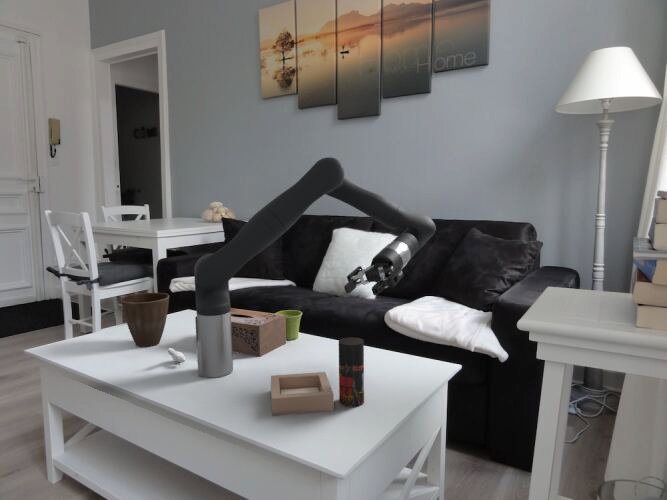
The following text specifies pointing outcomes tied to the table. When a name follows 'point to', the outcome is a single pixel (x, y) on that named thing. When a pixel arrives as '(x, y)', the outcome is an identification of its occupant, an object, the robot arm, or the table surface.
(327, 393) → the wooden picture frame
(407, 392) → the table surface
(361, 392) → the deodorant
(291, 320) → the plant pot
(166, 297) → the plant pot
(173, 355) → the rabbit figurine
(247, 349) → the tissue box cover
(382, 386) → the table surface
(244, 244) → the robot arm
